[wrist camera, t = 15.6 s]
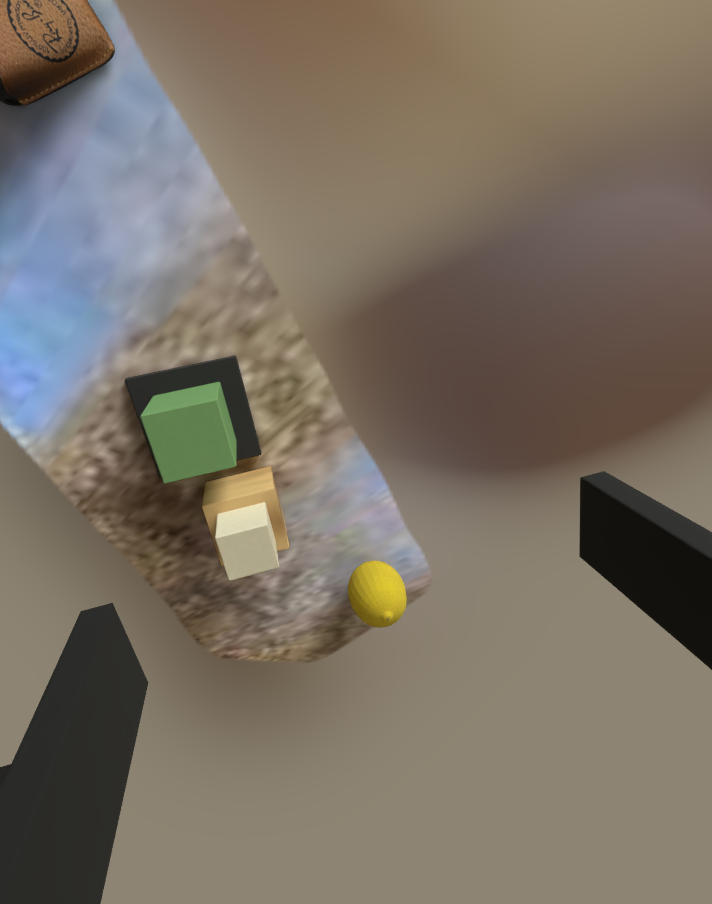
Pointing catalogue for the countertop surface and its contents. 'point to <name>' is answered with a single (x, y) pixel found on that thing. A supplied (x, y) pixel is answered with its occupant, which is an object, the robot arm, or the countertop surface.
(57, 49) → the sunglasses case
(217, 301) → the countertop surface
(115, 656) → the robot arm
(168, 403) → the green block
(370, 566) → the lemon
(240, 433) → the coaster
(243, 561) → the cream block
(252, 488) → the maple block
